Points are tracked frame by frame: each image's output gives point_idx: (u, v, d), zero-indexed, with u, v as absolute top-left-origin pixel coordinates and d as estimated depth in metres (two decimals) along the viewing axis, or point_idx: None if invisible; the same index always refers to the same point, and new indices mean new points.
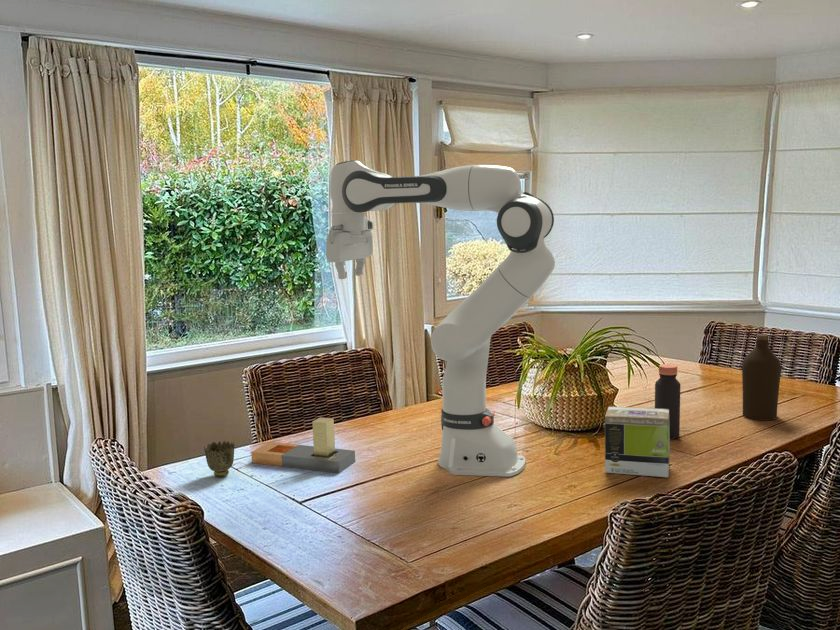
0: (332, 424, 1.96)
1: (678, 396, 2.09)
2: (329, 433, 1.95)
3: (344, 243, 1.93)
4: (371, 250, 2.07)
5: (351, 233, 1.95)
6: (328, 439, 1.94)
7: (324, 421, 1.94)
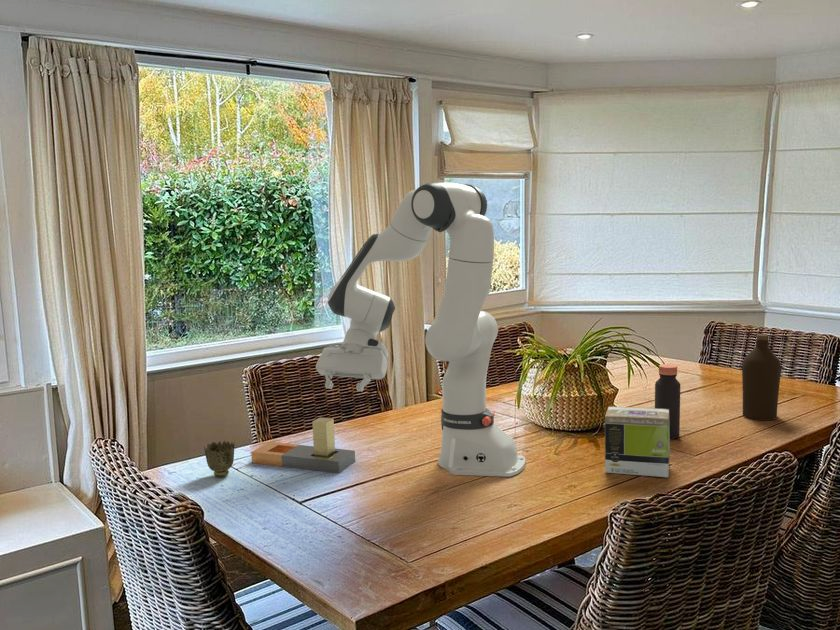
0: (332, 424, 1.96)
1: (678, 396, 2.09)
2: (329, 433, 1.95)
3: (332, 356, 2.12)
4: (378, 367, 2.05)
5: (345, 349, 2.12)
6: (328, 439, 1.94)
7: (324, 421, 1.94)
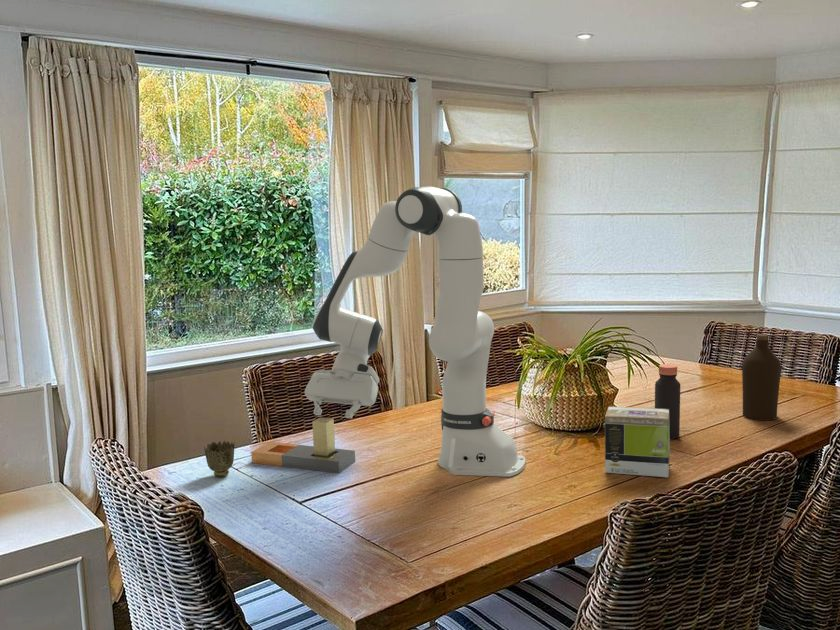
0: (332, 424, 1.96)
1: (678, 396, 2.09)
2: (329, 433, 1.95)
3: (322, 381, 2.07)
4: (367, 393, 1.99)
5: (334, 374, 2.06)
6: (328, 439, 1.94)
7: (324, 421, 1.94)
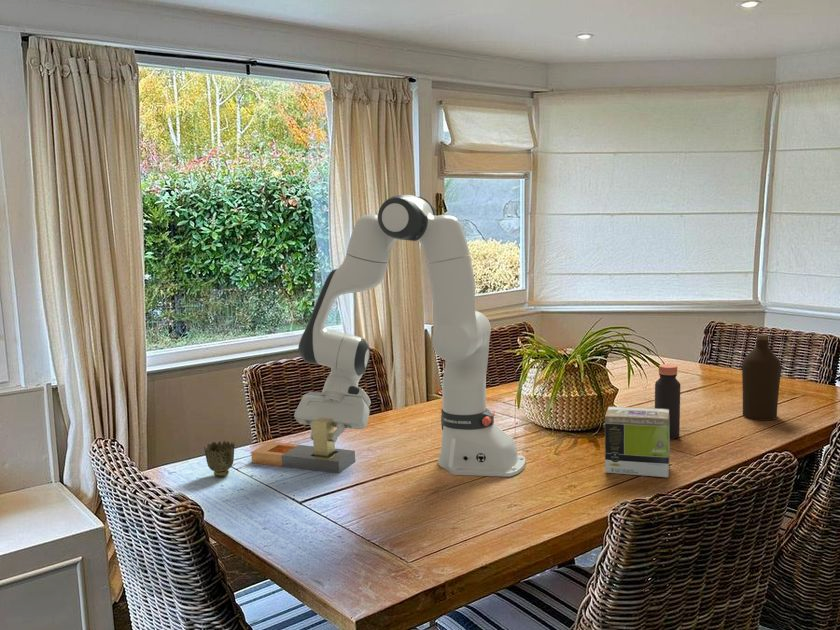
0: (332, 424, 1.96)
1: (678, 396, 2.09)
2: (329, 433, 1.95)
3: (312, 404, 2.02)
4: (358, 417, 1.94)
5: (325, 396, 2.01)
6: (328, 439, 1.94)
7: (324, 421, 1.94)
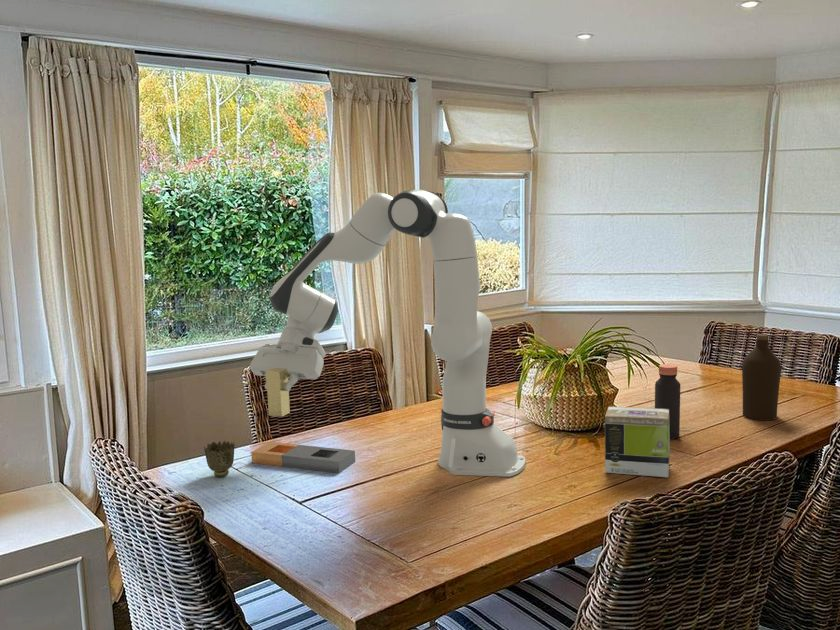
0: (286, 374, 1.99)
1: (678, 396, 2.09)
2: (283, 382, 1.98)
3: (267, 355, 2.05)
4: (312, 366, 1.97)
5: (280, 348, 2.04)
6: (281, 388, 1.97)
7: (278, 370, 1.97)
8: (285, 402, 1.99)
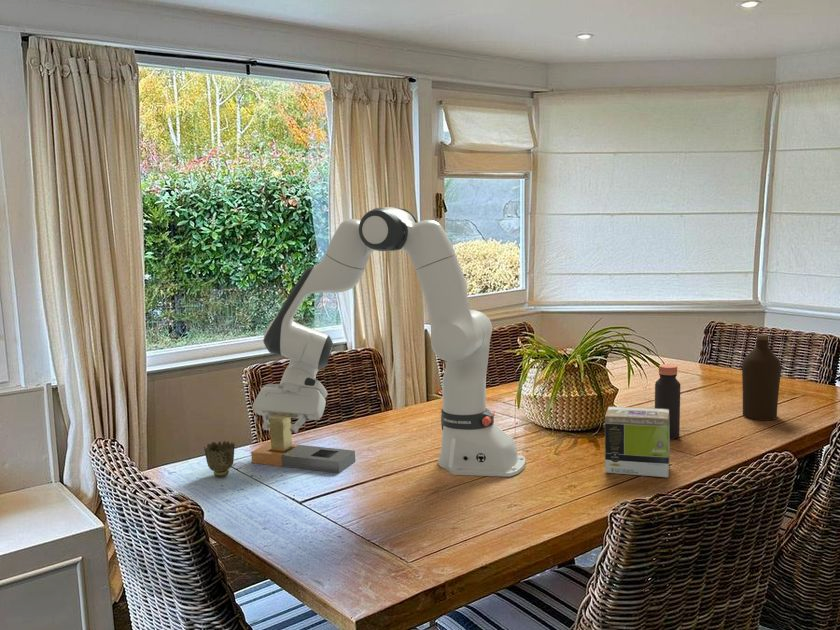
0: (289, 420, 2.01)
1: (678, 396, 2.09)
2: (286, 429, 2.00)
3: (270, 396, 2.06)
4: (314, 407, 1.99)
5: (282, 388, 2.06)
6: (285, 435, 1.99)
7: (281, 417, 1.99)
8: (288, 448, 2.01)
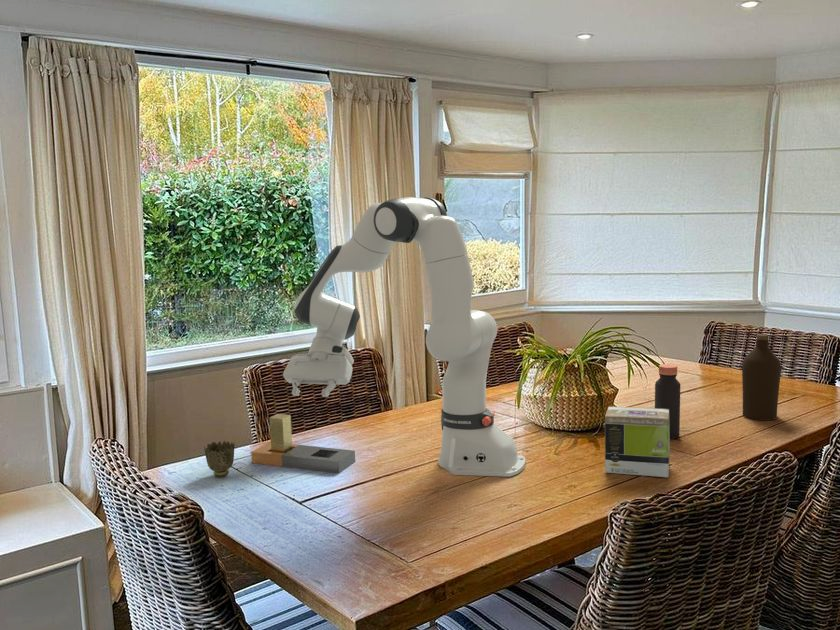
0: (289, 420, 2.01)
1: (678, 396, 2.09)
2: (286, 429, 2.00)
3: (299, 364, 2.18)
4: (342, 372, 2.10)
5: (311, 356, 2.17)
6: (285, 435, 1.99)
7: (281, 417, 1.99)
8: (288, 448, 2.01)
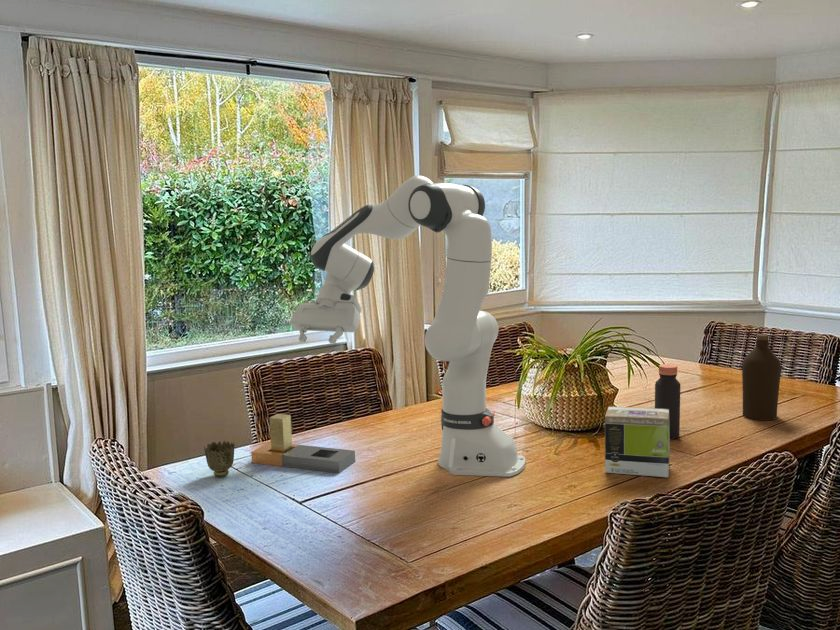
0: (289, 420, 2.01)
1: (678, 396, 2.09)
2: (286, 429, 2.00)
3: (306, 311, 2.17)
4: (350, 320, 2.09)
5: (319, 304, 2.16)
6: (285, 435, 1.99)
7: (281, 417, 1.99)
8: (288, 448, 2.01)
